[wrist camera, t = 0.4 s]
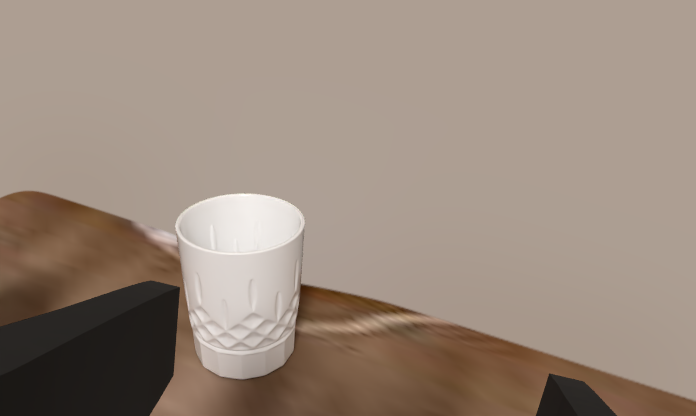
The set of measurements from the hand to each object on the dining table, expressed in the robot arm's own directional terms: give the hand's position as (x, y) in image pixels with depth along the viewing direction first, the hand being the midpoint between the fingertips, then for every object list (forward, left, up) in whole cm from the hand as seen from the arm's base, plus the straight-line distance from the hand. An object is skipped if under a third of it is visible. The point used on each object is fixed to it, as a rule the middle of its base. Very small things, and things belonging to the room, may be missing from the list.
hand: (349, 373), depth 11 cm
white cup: (+23, +7, -20) cm, 31 cm away
